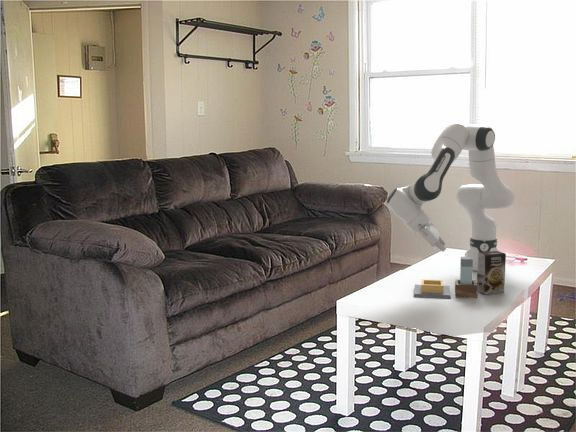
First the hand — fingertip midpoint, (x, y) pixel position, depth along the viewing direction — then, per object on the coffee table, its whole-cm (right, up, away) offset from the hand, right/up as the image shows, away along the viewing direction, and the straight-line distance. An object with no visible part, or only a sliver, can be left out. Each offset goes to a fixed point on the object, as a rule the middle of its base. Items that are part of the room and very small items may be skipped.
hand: (444, 247), depth 251 cm
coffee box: (+20, -18, +5) cm, 27 cm away
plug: (+9, -19, +1) cm, 21 cm away
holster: (+9, -19, +1) cm, 21 cm away
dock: (-4, -18, +5) cm, 19 cm away
